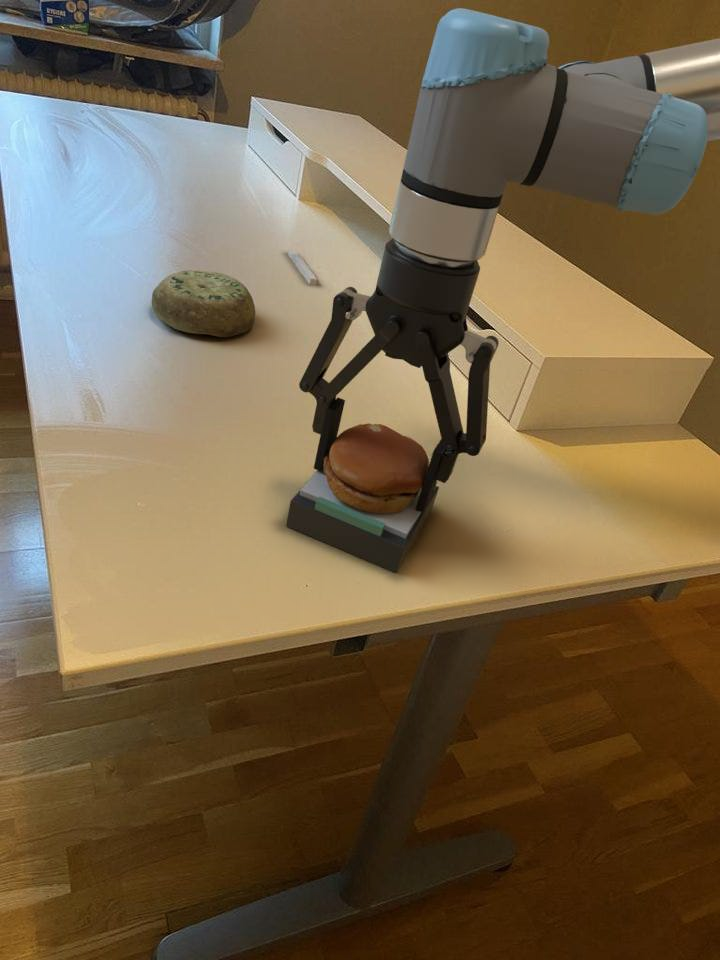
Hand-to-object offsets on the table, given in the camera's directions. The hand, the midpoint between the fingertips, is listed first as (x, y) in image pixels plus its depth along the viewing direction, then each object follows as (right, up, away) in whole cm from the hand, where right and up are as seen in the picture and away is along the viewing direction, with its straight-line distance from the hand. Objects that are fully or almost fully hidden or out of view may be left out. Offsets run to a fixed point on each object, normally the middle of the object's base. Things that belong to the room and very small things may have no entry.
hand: (372, 483), depth 69 cm
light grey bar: (-11, +35, +53) cm, 65 cm away
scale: (-1, -3, +2) cm, 4 cm away
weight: (-22, +22, +30) cm, 43 cm away
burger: (0, 0, 0) cm, 0 cm away
